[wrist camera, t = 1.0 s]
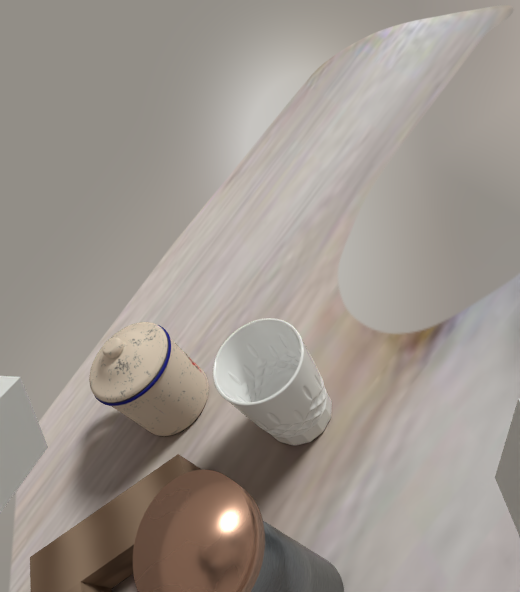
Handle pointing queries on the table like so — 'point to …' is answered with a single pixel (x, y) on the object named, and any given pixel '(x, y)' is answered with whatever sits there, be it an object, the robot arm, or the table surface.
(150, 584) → the metal pin
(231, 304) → the table surface
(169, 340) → the teacup with lid
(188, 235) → the table surface
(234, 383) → the white cup
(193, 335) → the table surface
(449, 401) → the table surface
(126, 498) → the socket block
